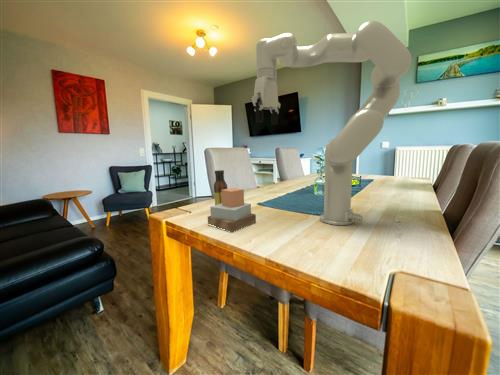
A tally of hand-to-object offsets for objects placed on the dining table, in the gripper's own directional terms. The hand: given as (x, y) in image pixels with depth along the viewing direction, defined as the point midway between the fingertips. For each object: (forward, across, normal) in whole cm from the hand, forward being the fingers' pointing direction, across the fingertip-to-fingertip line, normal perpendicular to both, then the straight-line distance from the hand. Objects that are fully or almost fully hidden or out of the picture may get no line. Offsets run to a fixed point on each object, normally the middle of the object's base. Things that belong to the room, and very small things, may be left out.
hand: (267, 123), depth 86 cm
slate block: (+35, +16, -6) cm, 39 cm away
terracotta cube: (+31, +15, -6) cm, 35 cm away
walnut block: (+39, +16, -6) cm, 42 cm away
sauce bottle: (+38, +8, -20) cm, 44 cm away
